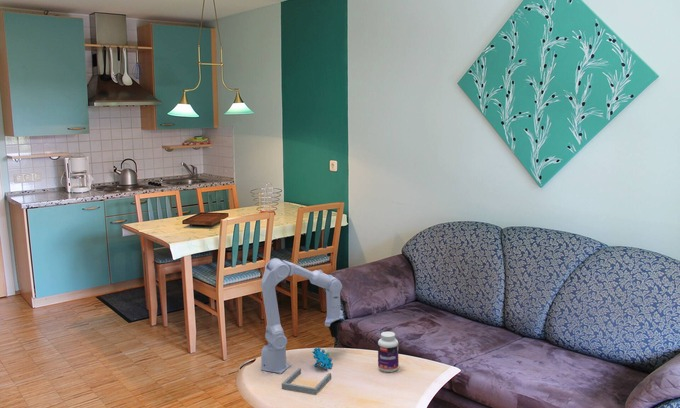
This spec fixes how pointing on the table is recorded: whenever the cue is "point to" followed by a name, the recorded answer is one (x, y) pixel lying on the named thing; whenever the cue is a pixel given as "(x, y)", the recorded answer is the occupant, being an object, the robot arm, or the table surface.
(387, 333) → the pill bottle
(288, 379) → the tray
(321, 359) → the gear
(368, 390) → the table surface
